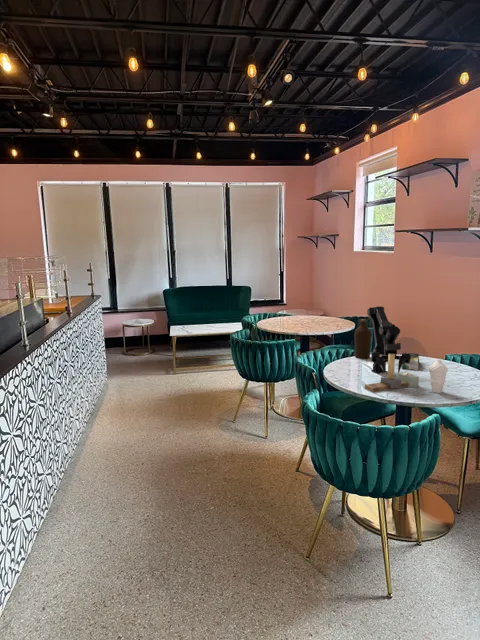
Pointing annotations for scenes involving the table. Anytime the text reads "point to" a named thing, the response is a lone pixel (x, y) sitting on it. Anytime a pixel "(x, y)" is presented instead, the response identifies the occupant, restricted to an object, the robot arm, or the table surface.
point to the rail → (382, 386)
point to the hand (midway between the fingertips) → (391, 372)
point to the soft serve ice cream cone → (437, 376)
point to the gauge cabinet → (409, 379)
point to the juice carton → (412, 362)
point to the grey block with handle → (391, 373)
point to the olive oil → (362, 341)
